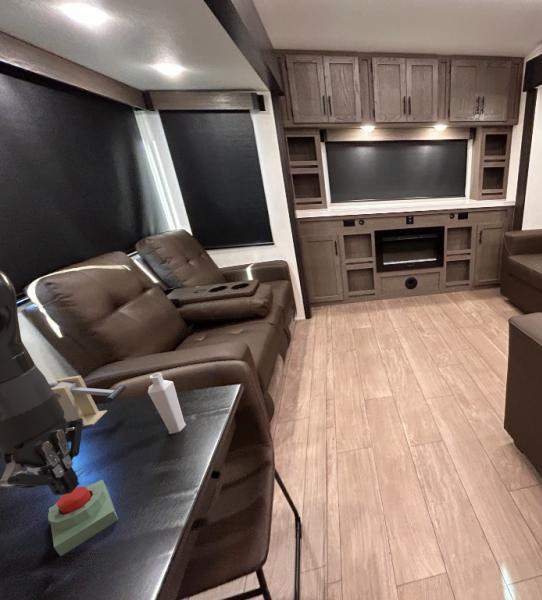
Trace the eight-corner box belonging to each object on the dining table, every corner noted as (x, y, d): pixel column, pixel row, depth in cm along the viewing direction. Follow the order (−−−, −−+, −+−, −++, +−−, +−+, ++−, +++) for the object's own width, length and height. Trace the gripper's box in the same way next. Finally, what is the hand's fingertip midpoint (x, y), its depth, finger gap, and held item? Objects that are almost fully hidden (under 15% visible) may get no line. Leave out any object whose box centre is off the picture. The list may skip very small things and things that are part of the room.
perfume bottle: (175, 424, 74) (152, 369, 69) (193, 423, 74) (172, 368, 69) (160, 439, 70) (135, 382, 65) (179, 438, 70) (156, 381, 65)
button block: (54, 517, 54) (43, 500, 53) (106, 487, 59) (98, 471, 58) (60, 556, 48) (48, 539, 47) (118, 519, 53) (109, 503, 52)
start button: (60, 505, 52) (55, 498, 52) (89, 489, 55) (85, 482, 54) (63, 518, 50) (57, 511, 49) (93, 501, 53) (88, 494, 52)
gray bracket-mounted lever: (126, 391, 79) (125, 383, 78) (112, 404, 74) (112, 395, 73) (67, 386, 76) (66, 378, 75) (49, 400, 71) (48, 391, 70)
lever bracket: (110, 412, 80) (90, 372, 76) (93, 429, 75) (71, 387, 71) (74, 418, 79) (52, 378, 75) (54, 435, 74) (30, 393, 69)
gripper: (27, 380, 51) (74, 461, 57) (-72, 443, 39) (2, 537, 45) (79, 373, 52) (120, 453, 58) (-1, 431, 40) (62, 525, 46)
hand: (68, 490), depth 51 cm, fingers closed
